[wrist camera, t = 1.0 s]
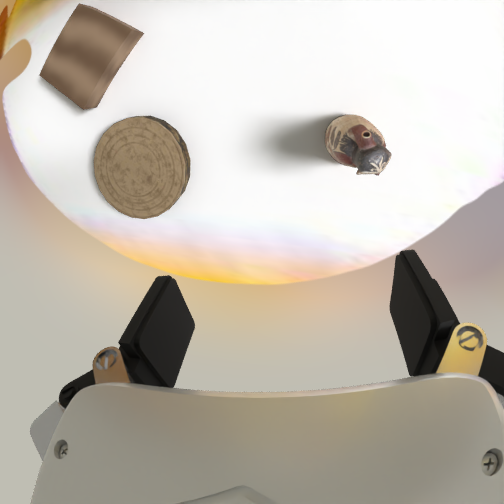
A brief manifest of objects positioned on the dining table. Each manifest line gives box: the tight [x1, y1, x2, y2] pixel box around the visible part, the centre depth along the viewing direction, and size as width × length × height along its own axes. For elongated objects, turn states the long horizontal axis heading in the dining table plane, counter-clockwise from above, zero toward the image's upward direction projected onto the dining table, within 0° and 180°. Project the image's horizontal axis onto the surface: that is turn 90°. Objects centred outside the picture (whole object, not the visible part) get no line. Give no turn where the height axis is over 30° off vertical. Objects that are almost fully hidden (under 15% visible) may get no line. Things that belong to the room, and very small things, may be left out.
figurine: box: [325, 115, 391, 175], centre depth 28 cm, size 7×7×12 cm
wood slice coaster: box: [94, 116, 190, 219], centre depth 38 cm, size 16×16×3 cm
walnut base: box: [40, 4, 144, 110], centre depth 27 cm, size 14×14×4 cm
